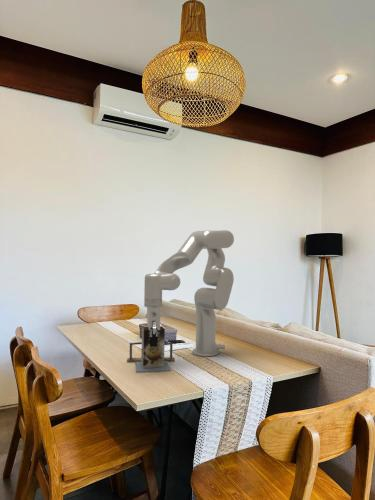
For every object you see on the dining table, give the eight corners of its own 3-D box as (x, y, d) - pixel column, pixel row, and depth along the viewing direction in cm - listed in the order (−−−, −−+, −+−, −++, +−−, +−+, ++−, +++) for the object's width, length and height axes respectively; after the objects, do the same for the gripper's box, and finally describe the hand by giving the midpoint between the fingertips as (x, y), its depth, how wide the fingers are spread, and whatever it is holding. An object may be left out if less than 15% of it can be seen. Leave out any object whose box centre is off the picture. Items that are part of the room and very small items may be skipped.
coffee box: (142, 368, 142) (143, 329, 142) (141, 363, 149) (141, 326, 149) (164, 367, 145) (165, 328, 145) (161, 362, 151) (162, 325, 151)
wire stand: (174, 359, 157) (174, 341, 157) (174, 362, 153) (174, 343, 153) (127, 360, 155) (127, 341, 155) (126, 363, 151) (127, 344, 151)
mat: (167, 361, 153) (167, 360, 153) (170, 370, 142) (170, 369, 142) (135, 363, 151) (135, 361, 151) (136, 372, 139) (136, 371, 139)
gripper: (164, 305, 139) (163, 348, 138) (160, 299, 156) (159, 337, 156) (145, 306, 137) (144, 349, 137) (143, 300, 154) (142, 338, 154)
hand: (152, 343), depth 146 cm, fingers open, 9 cm apart
